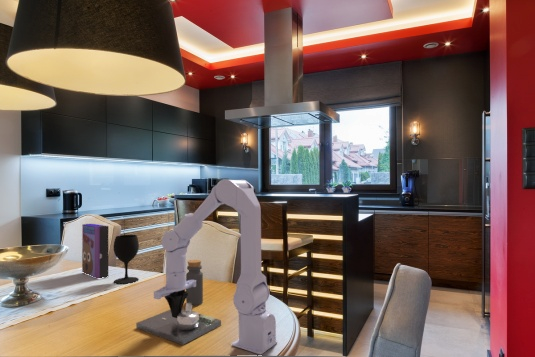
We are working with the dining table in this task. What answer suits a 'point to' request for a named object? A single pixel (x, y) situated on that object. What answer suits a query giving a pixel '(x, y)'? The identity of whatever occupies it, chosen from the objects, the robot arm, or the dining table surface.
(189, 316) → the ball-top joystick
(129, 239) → the wine glass
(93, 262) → the cereal box
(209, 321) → the lever base plate
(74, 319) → the dining table surface
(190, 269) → the bottle
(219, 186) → the robot arm
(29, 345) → the dining table surface
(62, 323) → the dining table surface
